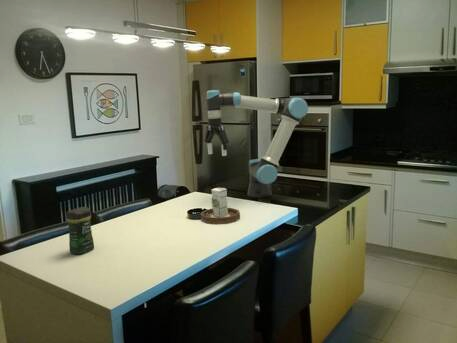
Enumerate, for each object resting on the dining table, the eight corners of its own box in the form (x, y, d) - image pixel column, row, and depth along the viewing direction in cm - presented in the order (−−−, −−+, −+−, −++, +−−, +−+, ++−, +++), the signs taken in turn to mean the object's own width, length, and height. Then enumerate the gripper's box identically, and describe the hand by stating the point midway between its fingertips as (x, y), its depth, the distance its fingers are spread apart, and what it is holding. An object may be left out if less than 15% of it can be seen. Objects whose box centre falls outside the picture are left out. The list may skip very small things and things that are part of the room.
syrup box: (228, 215, 210) (227, 188, 207) (220, 218, 206) (218, 190, 203) (220, 213, 214) (219, 186, 211) (212, 216, 210) (211, 189, 207)
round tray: (225, 210, 223) (225, 205, 223) (247, 218, 207) (247, 212, 207) (194, 217, 212) (193, 212, 212) (214, 226, 196) (214, 220, 196)
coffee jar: (80, 256, 165) (75, 212, 162) (66, 253, 168) (61, 210, 165) (98, 248, 173) (93, 206, 170) (84, 246, 177) (79, 204, 174)
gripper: (196, 118, 237) (199, 154, 241) (222, 118, 218) (225, 157, 222) (207, 117, 242) (209, 152, 246) (233, 117, 222) (235, 155, 226)
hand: (217, 154), depth 234 cm, fingers open, 13 cm apart
